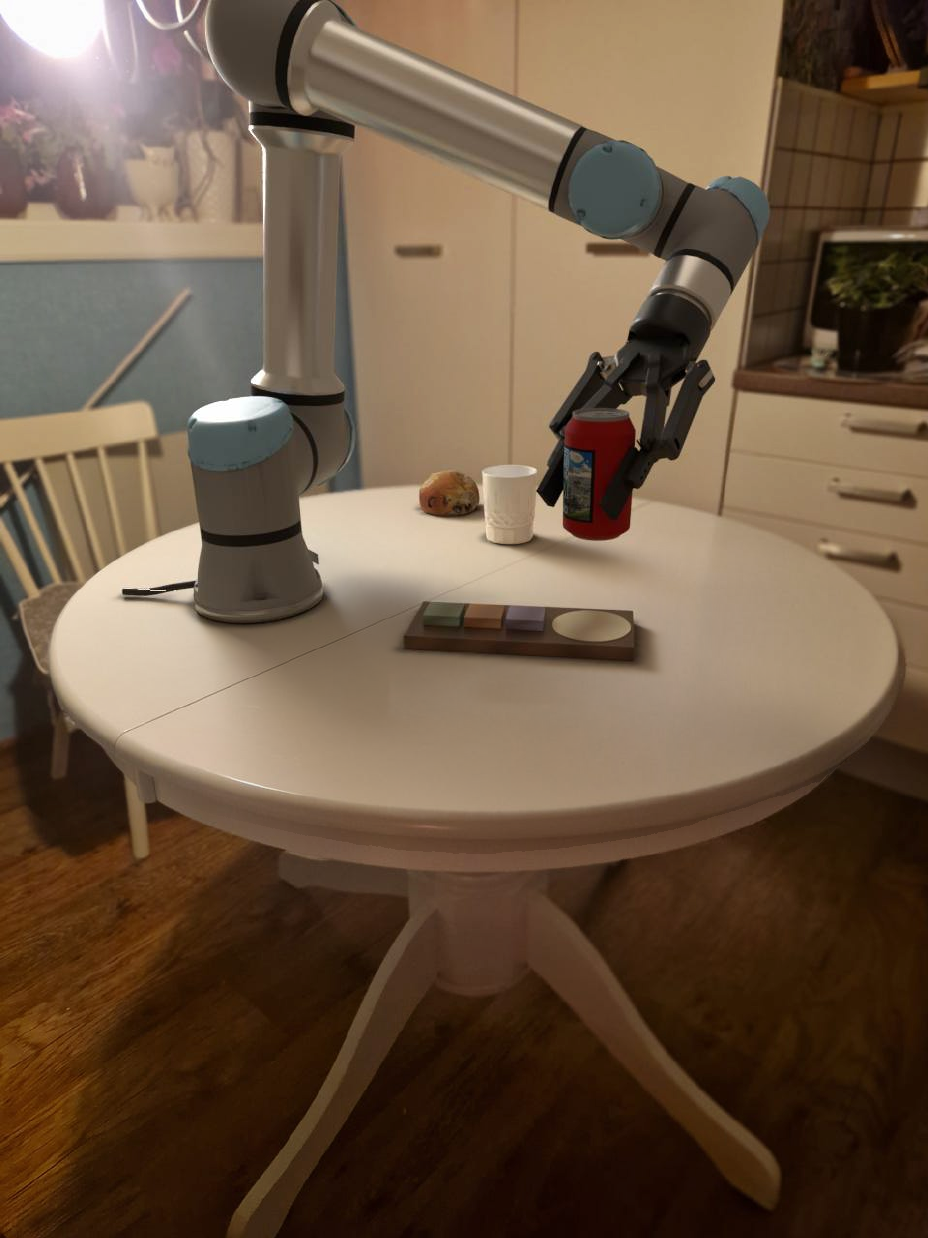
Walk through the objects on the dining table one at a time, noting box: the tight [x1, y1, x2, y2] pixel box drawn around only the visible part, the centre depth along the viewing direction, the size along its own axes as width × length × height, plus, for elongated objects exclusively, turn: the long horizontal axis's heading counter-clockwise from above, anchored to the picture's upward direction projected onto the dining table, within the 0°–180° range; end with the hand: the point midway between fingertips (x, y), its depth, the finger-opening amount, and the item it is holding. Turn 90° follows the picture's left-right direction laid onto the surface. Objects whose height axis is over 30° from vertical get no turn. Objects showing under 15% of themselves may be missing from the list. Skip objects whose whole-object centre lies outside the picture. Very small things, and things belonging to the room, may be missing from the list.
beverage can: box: [562, 408, 637, 542], centre depth 84 cm, size 7×7×12 cm
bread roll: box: [418, 469, 481, 517], centre depth 142 cm, size 10×10×8 cm
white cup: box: [481, 464, 538, 545], centre depth 125 cm, size 8×8×10 cm
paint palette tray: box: [403, 600, 636, 662], centre depth 94 cm, size 24×10×3 cm, turn 81°
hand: (575, 505), depth 83 cm, fingers closed on beverage can, 7 cm apart
